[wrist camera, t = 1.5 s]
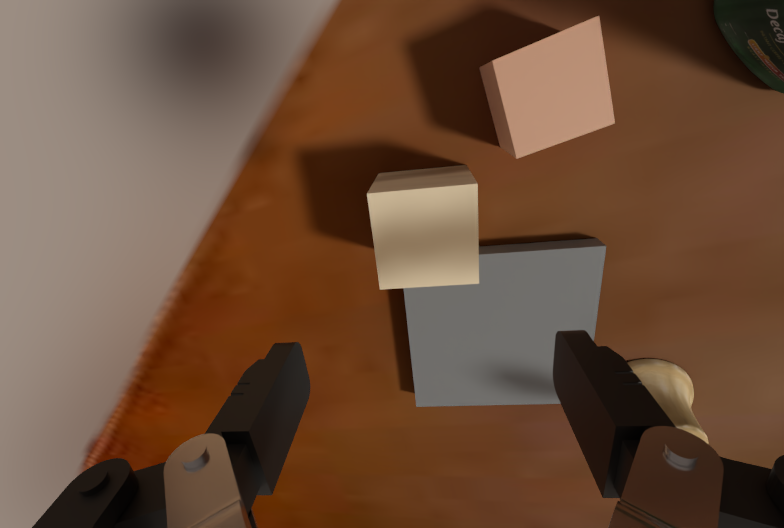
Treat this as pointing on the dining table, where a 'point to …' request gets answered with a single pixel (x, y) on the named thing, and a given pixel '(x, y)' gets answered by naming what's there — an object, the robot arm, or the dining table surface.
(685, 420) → the hand bell
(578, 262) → the slate tile
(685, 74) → the dining table surface
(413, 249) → the birch cube
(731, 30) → the coffee jar
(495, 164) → the dining table surface
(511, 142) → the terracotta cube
